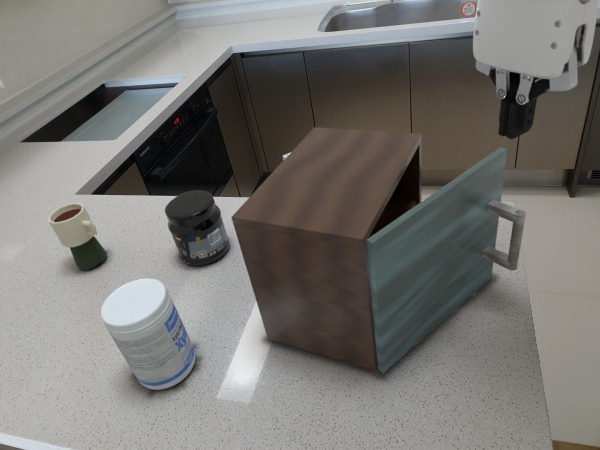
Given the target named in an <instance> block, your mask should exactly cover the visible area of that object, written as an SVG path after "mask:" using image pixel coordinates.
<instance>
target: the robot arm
mask: <svg viewBox="0 0 600 450" xmlns="http://www.w3.org/2000/svg"><path fill="white" fill-rule="evenodd" d="M598 10H599V0H477V4H476V9H475V16H474V24H473V25H474V26H473V34H472V35H473V37H472V55H473V58H474V59H475V65H474V66H475V69H476V71H478V72H480V73H481V74H484V75H485V76H487V77H489V78H490V80H491V82H492V83H493V85H494V86H495V95H496V97H497V98H498V99H499V100H500V107H499V116H498V123H499V124H498V133H497V134H498V135H499V136H500V137H506V138H507V139H509V140H514V139H516V138H518V137H521V136H522V135H524V134H526V133H527V132H529V131H530V130H531V129H532V127H533V124H534V119H535V113H536V108H537V102H538V98H541V97H542V96H544V95H545V94H547V92H550V93H551V92H552V93H553V92H567V91H569V90H571V89H572V90H573V88H575V87H577V86H578V83H579V78H578V77H579V75H578V74H579V73H578V68H579V67H582V66H584V65H586V64H587V63H588V62H589V59H590V56H591V52H592V49H593V43H594V38H595V31H596V25H597V17H598V12H599V11H598Z"/></svg>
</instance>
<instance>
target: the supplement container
mask: <svg viewBox="0 0 600 450" xmlns="http://www.w3.org/2000/svg"><path fill="white" fill-rule="evenodd" d="M164 214H165V216H166V218H167V229H168V231H169V233H170V234H171V236H172V239H173V242H174V244H175V246H176V249H177V251H178V255H179V257H180V260H182V261H183V262H184V263H186V264H188V265H191V266H204V265H208V264H211V263H214V262H216V261H217V260H219V259H220V258H222V257H223V256H224V255H225V254H226V253H227V251H228V250H229V247H230V238H229V235H228V233H227V230H226V226H225V224H224V220H223V217H222V211H221V209H220V208H219V206H218V205H217V204H216V201H215V198H214V196H213V194H211V193H210V192H209V191H207V190H200V189H199V190H197V189H196V190H189V191H186V192H182V193H180V194H178V195H176V196H174V197H172V198H171V200H169V201H168V202H167V204H166V205H165V207H164Z"/></svg>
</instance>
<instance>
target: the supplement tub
mask: <svg viewBox="0 0 600 450" xmlns="http://www.w3.org/2000/svg"><path fill="white" fill-rule="evenodd" d="M100 317H101V319H102V321H103V324H104V327H105V329H106V330H107V332H108V333H109V335H110V337H111V338H112V340H113V341H114V343H115V345H116V347H117V349H118V350H119V352H120V353H121V356H123V358H124V360H125V362H126V363H127V365H128V366H129V368H130V370H131V371H132V374H133V375H134V376H135V378H136V380H137V381H138V382H139V384H141V386H143V387H145V388H146V389H150V390H155V391H158V390H165V389H166V390H167V389H169V388H172V387H173V386H176V385H177V384H179V383H180V382H182V381H183V380H184V379H185V378H186V377H187V376H188V375H189V374H190V373H191V371H192V370H193V368H194V365H195V363H196V357H197V353H196V348H195V347H194V344H193V341H192V340H191V338H190V336H189V334H188V331H187V329H186V326H185V324H184V322H183V320H182V318H181V316H180V313H179V311H178V309H177V308H176V305H175V303H174V300H173V298H172V296H171V294H170V292H169V291H168V289H167V288H166V286H165V285H164V283H162V281H160V280H158V279H156V278H146V277H145V278H139V279H135V280H132V281H128V282H126V283H125V284H122V285H121V286H119V287H117V288H116V289H115V290H113V291H112V292H111V293H110V294H109V295H108V296H107V298H106V299H105V300H104V302H103V303H102V306H101V309H100Z"/></svg>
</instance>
